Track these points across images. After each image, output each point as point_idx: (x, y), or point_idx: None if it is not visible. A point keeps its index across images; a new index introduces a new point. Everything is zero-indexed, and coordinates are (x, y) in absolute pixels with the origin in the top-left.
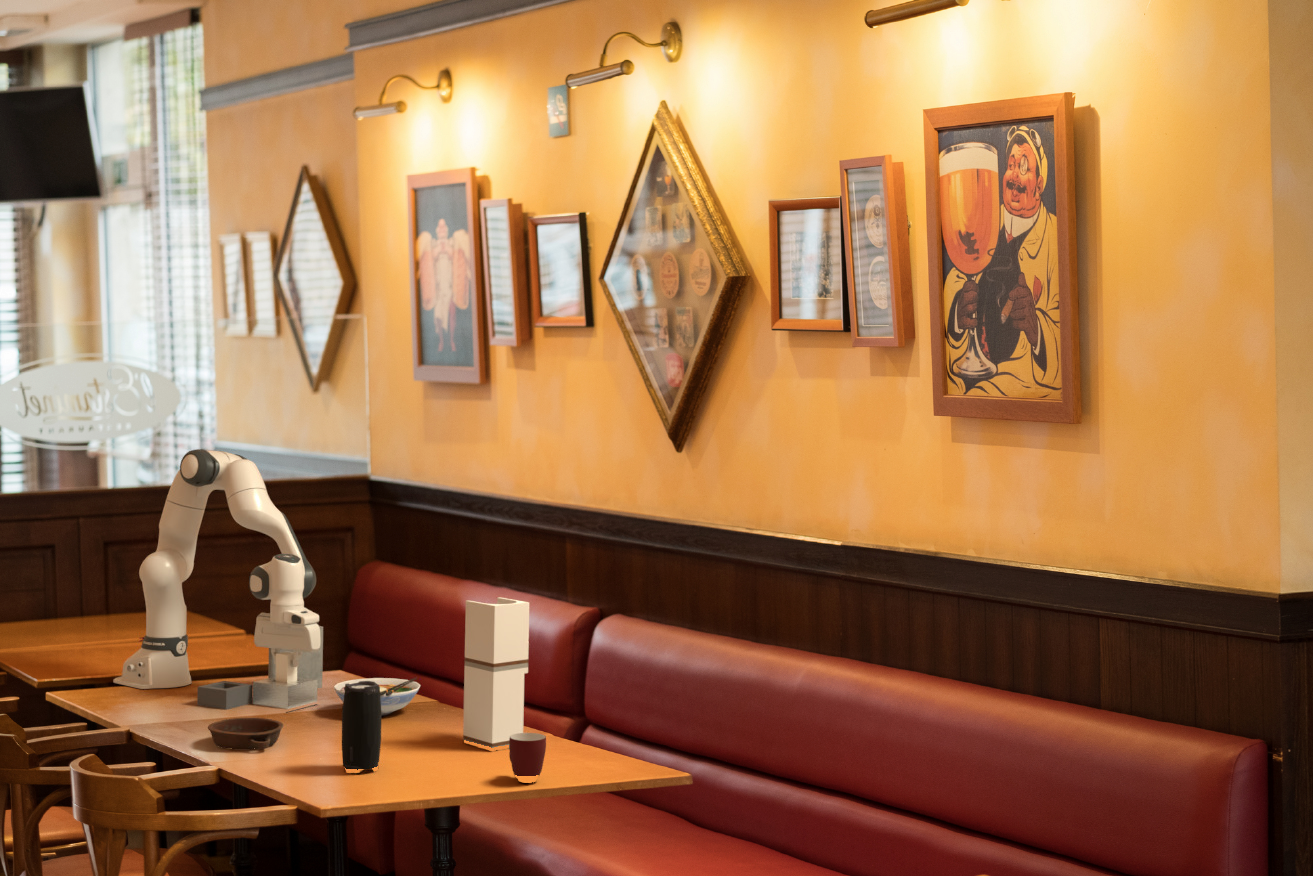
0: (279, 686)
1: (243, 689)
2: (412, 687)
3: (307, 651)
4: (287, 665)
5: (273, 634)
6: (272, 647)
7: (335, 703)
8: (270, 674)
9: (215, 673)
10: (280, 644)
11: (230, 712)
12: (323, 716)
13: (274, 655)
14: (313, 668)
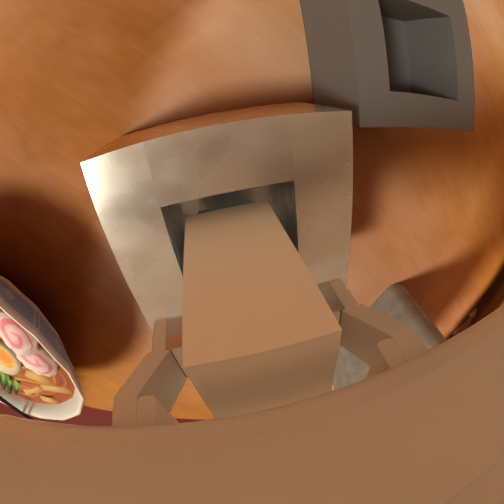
0: (142, 141)
1: (347, 60)
2: (17, 398)
3: (8, 418)
4: (183, 294)
5: (465, 484)
6: (414, 363)
7: None
8: (419, 313)
9: (499, 290)
10: (323, 444)
11: (300, 5)
12: (16, 200)
13: (368, 321)
14: None
